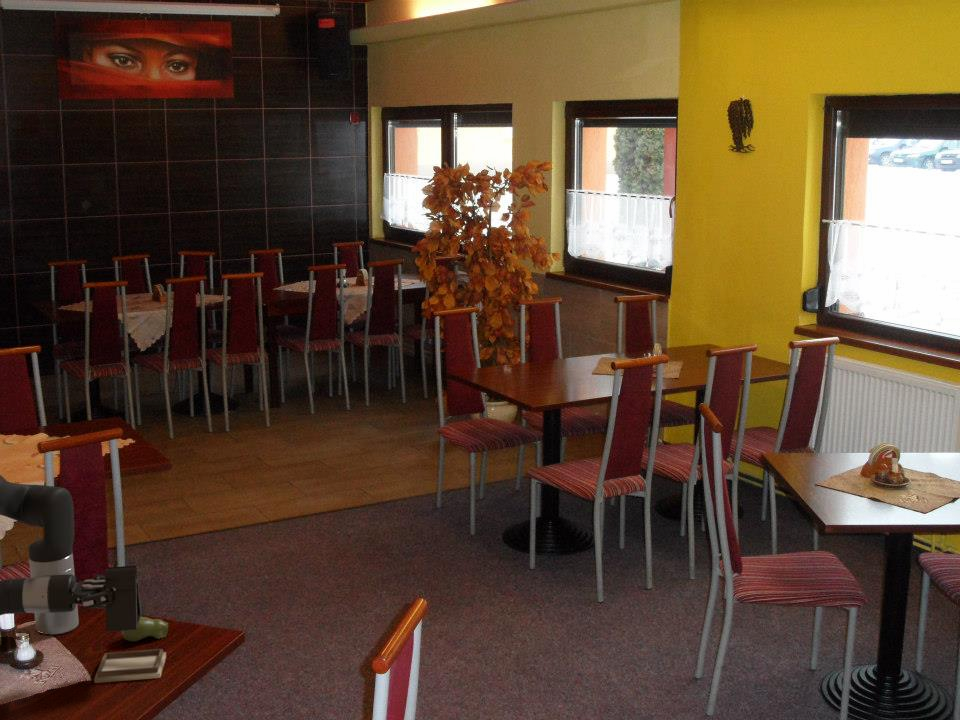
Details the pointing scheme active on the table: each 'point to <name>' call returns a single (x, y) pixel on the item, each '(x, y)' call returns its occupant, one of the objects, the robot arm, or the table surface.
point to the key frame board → (131, 665)
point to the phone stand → (123, 599)
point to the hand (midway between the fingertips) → (137, 589)
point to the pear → (147, 629)
